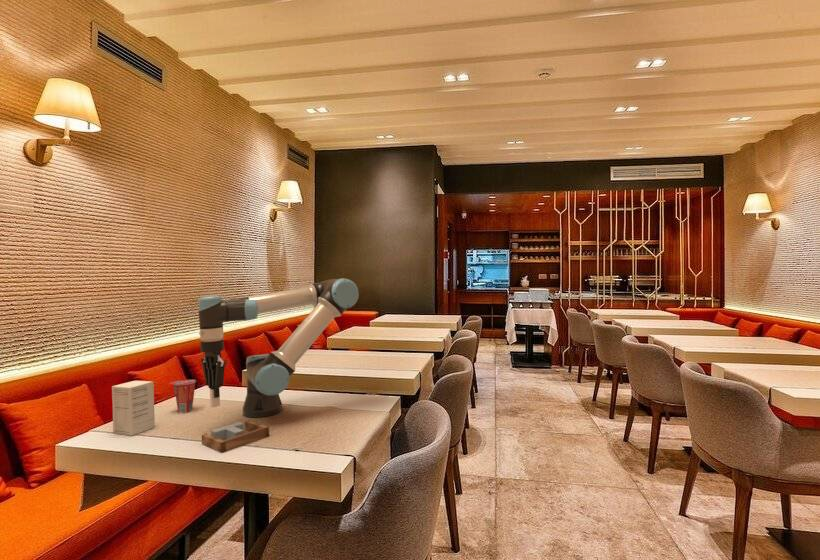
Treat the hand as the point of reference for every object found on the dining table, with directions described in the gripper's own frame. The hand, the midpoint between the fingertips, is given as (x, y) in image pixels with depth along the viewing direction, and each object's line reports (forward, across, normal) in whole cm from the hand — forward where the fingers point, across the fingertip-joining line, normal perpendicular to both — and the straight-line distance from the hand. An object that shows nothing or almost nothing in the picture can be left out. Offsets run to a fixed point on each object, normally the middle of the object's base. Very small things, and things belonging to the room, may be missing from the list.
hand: (215, 406), depth 150 cm
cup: (+9, -33, +4) cm, 35 cm away
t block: (+9, +12, -1) cm, 15 cm away
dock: (+9, +14, -1) cm, 16 cm away
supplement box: (+8, -25, -17) cm, 32 cm away
